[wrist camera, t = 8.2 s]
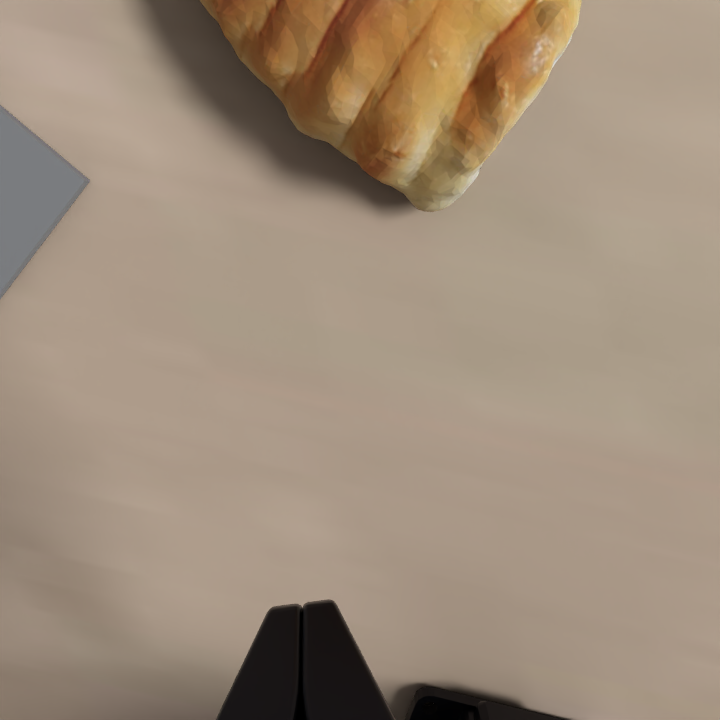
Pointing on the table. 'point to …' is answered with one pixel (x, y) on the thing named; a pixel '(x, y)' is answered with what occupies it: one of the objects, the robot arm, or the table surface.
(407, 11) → the pastry
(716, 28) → the table surface
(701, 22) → the table surface
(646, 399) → the table surface
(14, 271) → the mat
